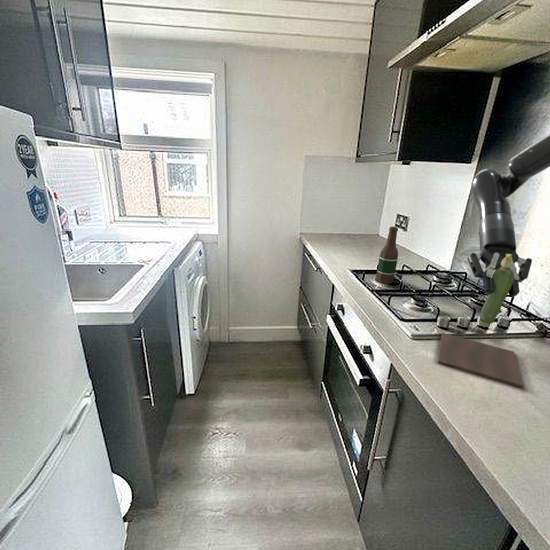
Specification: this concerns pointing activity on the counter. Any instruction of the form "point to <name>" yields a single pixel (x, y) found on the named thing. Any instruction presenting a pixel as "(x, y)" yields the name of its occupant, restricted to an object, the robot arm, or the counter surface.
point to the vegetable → (497, 292)
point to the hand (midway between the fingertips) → (501, 294)
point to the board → (480, 359)
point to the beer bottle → (388, 259)
